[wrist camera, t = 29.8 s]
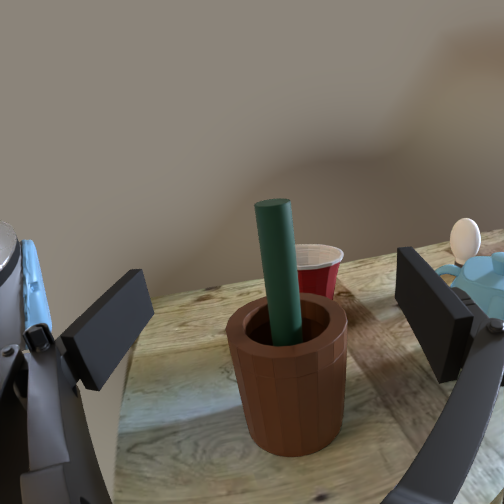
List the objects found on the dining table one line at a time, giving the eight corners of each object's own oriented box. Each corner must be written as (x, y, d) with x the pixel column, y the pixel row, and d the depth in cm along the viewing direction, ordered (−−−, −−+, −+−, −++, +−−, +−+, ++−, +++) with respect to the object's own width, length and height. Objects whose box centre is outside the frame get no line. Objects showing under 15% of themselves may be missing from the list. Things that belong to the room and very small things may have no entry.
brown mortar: (242, 456, 26) (214, 359, 22) (254, 390, 36) (236, 296, 31) (345, 453, 25) (355, 351, 20) (338, 385, 34) (338, 288, 30)
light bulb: (477, 266, 55) (482, 216, 51) (476, 279, 50) (482, 224, 46) (449, 262, 59) (452, 213, 55) (445, 275, 54) (449, 221, 51)
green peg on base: (271, 432, 28) (237, 212, 21) (274, 402, 32) (246, 199, 25) (315, 430, 27) (303, 205, 20) (314, 400, 32) (302, 194, 24)
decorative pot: (455, 406, 26) (487, 298, 22) (414, 329, 41) (422, 240, 37) (550, 370, 24) (582, 274, 19) (497, 311, 39) (511, 230, 34)
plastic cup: (355, 314, 48) (354, 242, 44) (326, 353, 40) (324, 271, 36) (296, 302, 55) (290, 236, 51) (260, 335, 47) (249, 261, 43)
